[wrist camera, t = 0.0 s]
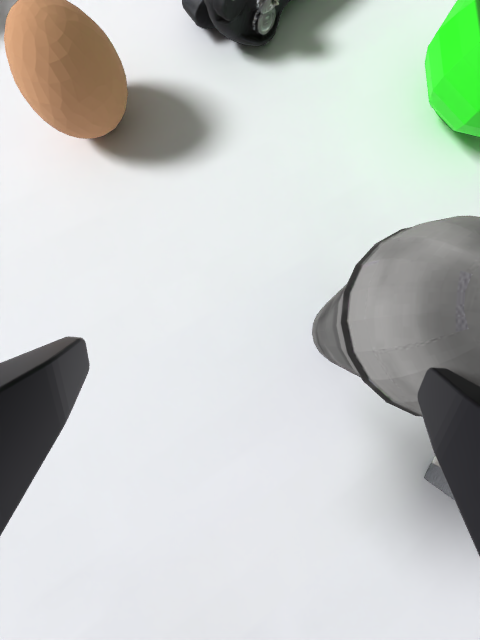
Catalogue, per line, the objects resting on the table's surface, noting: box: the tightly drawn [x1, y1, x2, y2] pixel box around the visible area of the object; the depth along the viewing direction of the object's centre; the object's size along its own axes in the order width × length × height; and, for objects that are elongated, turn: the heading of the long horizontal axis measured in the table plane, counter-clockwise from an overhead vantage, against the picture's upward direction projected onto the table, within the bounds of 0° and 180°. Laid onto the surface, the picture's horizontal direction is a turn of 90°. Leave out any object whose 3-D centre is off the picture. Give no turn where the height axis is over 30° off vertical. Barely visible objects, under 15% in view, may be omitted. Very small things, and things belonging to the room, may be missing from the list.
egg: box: [4, 0, 128, 138], centre depth 21 cm, size 6×6×8 cm
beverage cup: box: [312, 216, 480, 417], centre depth 14 cm, size 7×7×20 cm
